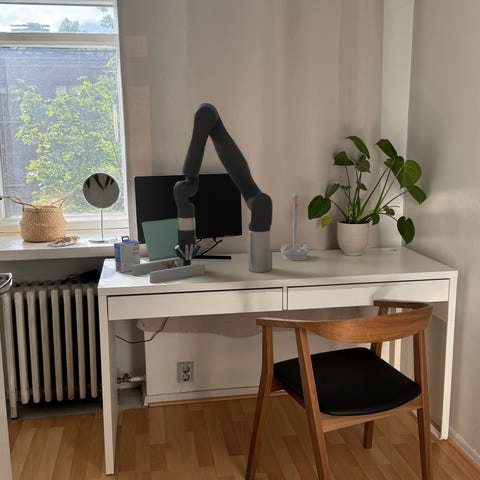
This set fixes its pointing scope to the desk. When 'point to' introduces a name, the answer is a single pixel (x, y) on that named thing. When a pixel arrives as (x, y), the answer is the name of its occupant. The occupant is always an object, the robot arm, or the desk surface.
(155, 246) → the cover
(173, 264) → the eagle figurine
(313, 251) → the desk surface
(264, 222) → the robot arm
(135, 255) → the ink cartridge box
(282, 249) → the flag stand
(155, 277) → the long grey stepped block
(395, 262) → the desk surface
